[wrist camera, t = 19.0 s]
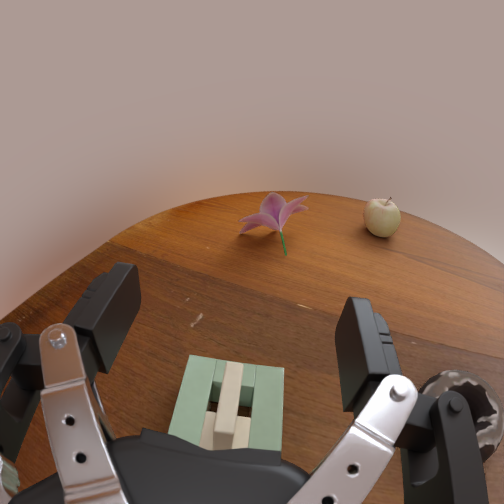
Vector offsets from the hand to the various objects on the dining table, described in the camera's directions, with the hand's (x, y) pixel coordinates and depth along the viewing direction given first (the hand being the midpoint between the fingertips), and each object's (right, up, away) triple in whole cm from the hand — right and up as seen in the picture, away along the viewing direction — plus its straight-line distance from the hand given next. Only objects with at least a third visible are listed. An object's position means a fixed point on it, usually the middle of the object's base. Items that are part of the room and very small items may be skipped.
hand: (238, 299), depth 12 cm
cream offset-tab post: (-2, -16, +8) cm, 18 cm away
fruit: (+25, +5, +47) cm, 54 cm away
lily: (+4, +3, +39) cm, 39 cm away
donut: (+21, -16, +12) cm, 29 cm away
